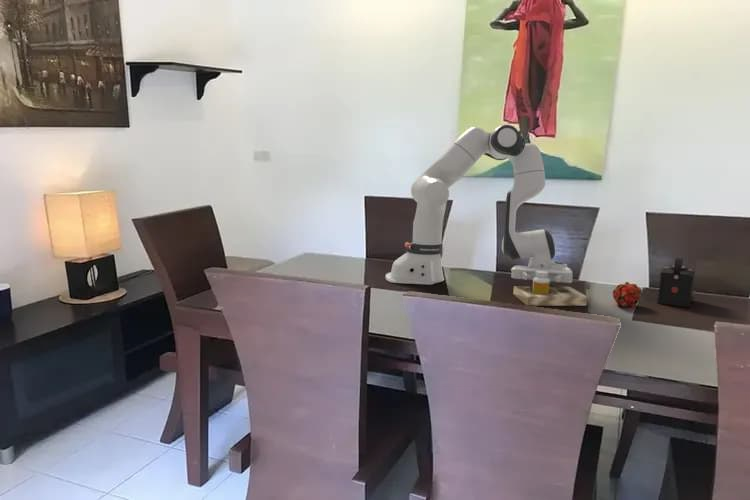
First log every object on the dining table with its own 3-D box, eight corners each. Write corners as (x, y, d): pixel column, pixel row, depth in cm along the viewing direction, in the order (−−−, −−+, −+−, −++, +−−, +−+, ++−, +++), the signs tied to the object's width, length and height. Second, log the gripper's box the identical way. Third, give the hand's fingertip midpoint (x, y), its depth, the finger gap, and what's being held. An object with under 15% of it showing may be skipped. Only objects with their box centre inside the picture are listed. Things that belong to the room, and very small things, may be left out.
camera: (694, 300, 197) (699, 257, 194) (692, 309, 185) (698, 264, 182) (659, 295, 202) (664, 254, 200) (656, 303, 190) (661, 260, 188)
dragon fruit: (635, 307, 191) (621, 319, 182) (615, 289, 194) (600, 300, 186) (652, 291, 185) (638, 302, 177) (631, 273, 189) (616, 283, 180)
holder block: (527, 305, 184) (528, 296, 183) (513, 294, 198) (513, 285, 197) (586, 305, 186) (587, 296, 185) (568, 294, 199) (569, 286, 199)
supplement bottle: (550, 302, 189) (552, 273, 187) (534, 301, 189) (536, 273, 187) (545, 298, 194) (547, 270, 192) (530, 297, 194) (532, 269, 192)
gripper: (511, 259, 204) (510, 267, 191) (571, 264, 199) (574, 272, 186) (510, 276, 206) (509, 285, 192) (569, 281, 200) (572, 290, 187)
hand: (541, 278), depth 189 cm, fingers open, 8 cm apart
